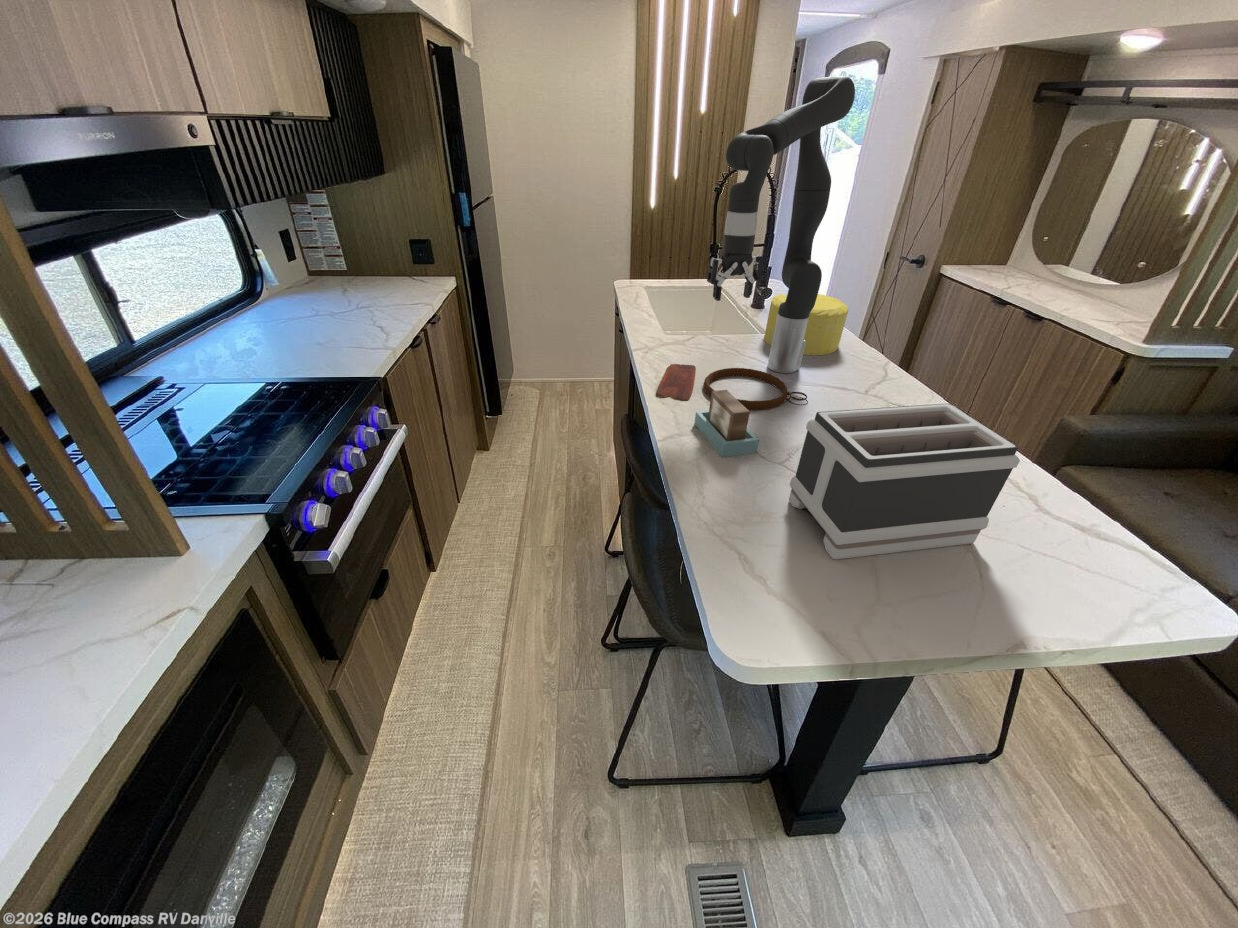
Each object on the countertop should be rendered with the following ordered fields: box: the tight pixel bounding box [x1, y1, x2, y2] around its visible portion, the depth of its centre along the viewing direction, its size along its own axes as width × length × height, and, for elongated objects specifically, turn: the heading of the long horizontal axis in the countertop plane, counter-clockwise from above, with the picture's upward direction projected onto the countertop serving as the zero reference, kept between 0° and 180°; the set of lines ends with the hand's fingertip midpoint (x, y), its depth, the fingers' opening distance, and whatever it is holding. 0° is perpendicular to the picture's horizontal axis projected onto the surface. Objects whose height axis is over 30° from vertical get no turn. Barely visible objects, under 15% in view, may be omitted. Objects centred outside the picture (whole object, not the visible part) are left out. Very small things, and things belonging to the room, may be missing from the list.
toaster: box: [788, 403, 1020, 560], centre depth 96 cm, size 18×34×21 cm, turn 100°
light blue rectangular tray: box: [694, 409, 760, 458], centre depth 126 cm, size 16×9×4 cm, turn 16°
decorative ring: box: [702, 367, 809, 411], centre depth 149 cm, size 24×3×30 cm
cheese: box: [763, 293, 849, 356], centre depth 183 cm, size 26×26×15 cm
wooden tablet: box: [655, 363, 697, 402], centre depth 155 cm, size 27×10×2 cm, turn 166°
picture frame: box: [708, 389, 751, 442], centre depth 124 cm, size 12×4×9 cm, turn 16°
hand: (731, 298), depth 134 cm, fingers open, 8 cm apart
